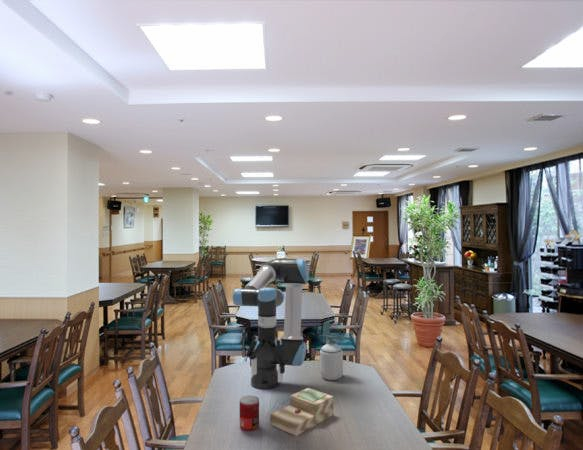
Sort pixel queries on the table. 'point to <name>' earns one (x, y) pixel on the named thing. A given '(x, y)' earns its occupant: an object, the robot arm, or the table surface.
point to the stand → (303, 411)
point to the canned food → (249, 413)
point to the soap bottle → (331, 356)
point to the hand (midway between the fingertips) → (266, 377)
